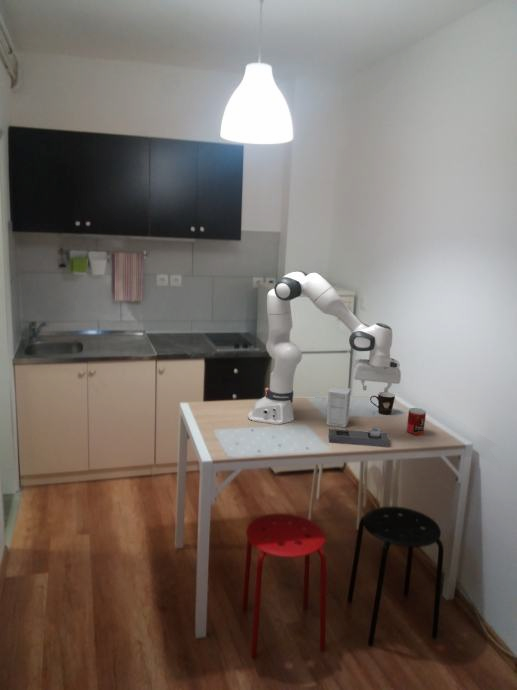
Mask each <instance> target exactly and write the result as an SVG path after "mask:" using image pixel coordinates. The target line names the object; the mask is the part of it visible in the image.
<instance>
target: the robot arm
mask: <svg viewBox="0 0 517 690" xmlns="http://www.w3.org/2000/svg"><path fill="white" fill-rule="evenodd" d="M302 295H303V296H306V297H307V298H308V299H309V300H310V302H312V304H313V305H314V306H315V307H316V308H317V310H319V311H320V312H321V313H323V314H325V315H329V316H333V317H335V318H337V319H339V320H340V321H341V323H342V324H344V326H345V327H346V328H347V329H348V330H349V331H350V332H351V334H350V335H349V340H348V343H349V345H350V347H351V348H352V349H353V350H354V351H356V352H369V357H368V359H365V358H364V359H363V358H358V359H356V360H355V361H354V366H353V367H354V372H353V378H354V380H357V381H361V385H362V391H367V388H368V387H367V385H365V381H367V382H377V383H387V386H386V387H384V390H383V392H387V393H388V392H389V389H390V388H391V387H392V385H393V384H394V385H396V384H397V385H398V384H400V383H401V380H402V379H401V375H402V374H401V372H402V371H401V369H400V362H399V361H398V360H397V359H394V358H393V357H391V347H392V343H393V329H392V328H391V326H390V325H387V324H385V323H379V322H377V323H374V324H373V325H368V324H366V323H364V322H362V321H361V319H359V317H357V316H356V314H355V313H354V312H353V311H352V310H351V309H350V308H349V307H348V306H347V305H346V303H345V301H344V300H343V299H342V298H341V296H340V295H339V293H338V292H337V291H336V289H335V288H334V287H333V286H332V285H331V284H330V282H329V281H327V280H326V279H325V278H324V277H323V276H322V275H320V274H319V273H317V272H311V273H309V274H307V272H305V271H303V270H295V271H292V272H289V273H287V274H285V275H284V276H283V277H280V278H279V279H278V280H277V281H276V282H275V284H274V288H272V289H270V290H269V291H268V293H267V295H266V312H267V321H268V340H267V341H266V347H265V350H266V351H267V353H268V355H269V356H270V357H271V358H272V359H273V360H275V364H274V369H273V370H272V372H271V373H270V382H269V387H266V388H264V393H265V394H264V397H261V398H260V399H258V400H257V401H256V402H255V403H254V404H253V408H252V409H251V410H250V411H249V412H248V413H247V418H249V419H250V420H249V421H251V420H252V421H253V422H260V423H265V424H272V425H282V424H285V423H291V422H293V421H294V420H295V416H294V409H293V402H294V378H295V372H296V369H297V366H299V364H300V363H301V361H302V360H303V359H302V358H303V353H302V351H301V349H300V348H299V346H298V345H297V344H295V343H293V342H291V337H290V336H291V331H292V329H293V317H292V308H291V301H292V300H294V299H296V298H299V297H300V296H302Z"/></svg>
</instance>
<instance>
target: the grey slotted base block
mask: <svg viewBox="0 0 517 690" xmlns="http://www.w3.org/2000/svg"><path fill="white" fill-rule="evenodd" d="M327 434H328V435H327V436H328V437H327V438H328V443H331V444H343V445H344V444H345V445H346V444H347V445H355V446H356V445H357V446H370V447H382V448H384V447H385V448H389V446H390V438H389V436H388V433H387V432H380V437H379V438H369V431H365V430H364V431H363V430H350V429H338V428H337V429H336V428H328V433H327Z"/></svg>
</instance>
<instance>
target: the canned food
mask: <svg viewBox="0 0 517 690" xmlns="http://www.w3.org/2000/svg"><path fill="white" fill-rule="evenodd" d="M426 415H427V410H425V409H423V408H418V407H410V408H409V409H408V415H407V423H406V424H407V425H406V433H407V434H409V435H411V436H418V437H420V436H422V435H423V434H424V431H425V424H426Z"/></svg>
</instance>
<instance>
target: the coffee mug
mask: <svg viewBox="0 0 517 690" xmlns="http://www.w3.org/2000/svg"><path fill="white" fill-rule="evenodd" d="M372 398H376V399H377V401H378V402H377V403H378V405H377V404H375V403H374V402H373V400H372ZM395 398H396V394H395V393H393V392H389V391H388V393H387V392H384V391H379V392H378V393H377V395H372V396H370V398H369V400H370V403H372V404H373V405H374V406H375V407H376V408H377V409H378V410H377V411H378V414H379V415H381V416H382V415H383V416H391V415H392V412H393V409H394V404H395V400H396V399H395Z"/></svg>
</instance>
